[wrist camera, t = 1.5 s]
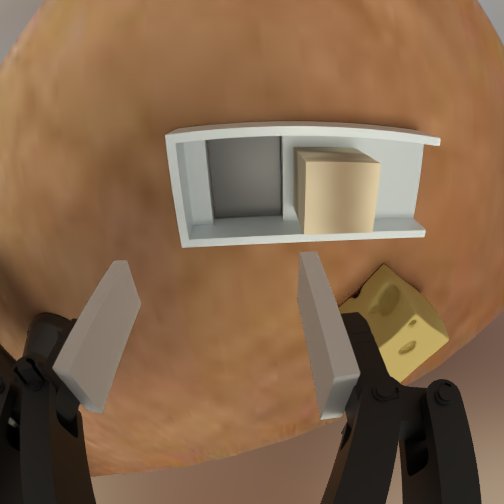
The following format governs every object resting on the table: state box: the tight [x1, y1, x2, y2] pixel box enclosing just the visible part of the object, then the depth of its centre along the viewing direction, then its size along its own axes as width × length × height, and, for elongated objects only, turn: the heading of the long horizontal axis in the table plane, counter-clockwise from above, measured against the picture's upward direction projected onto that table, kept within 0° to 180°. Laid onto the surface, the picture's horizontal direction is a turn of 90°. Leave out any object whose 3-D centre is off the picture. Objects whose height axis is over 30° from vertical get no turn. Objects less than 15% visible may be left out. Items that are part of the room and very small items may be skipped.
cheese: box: [338, 264, 449, 383], centre depth 33 cm, size 10×11×10 cm
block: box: [293, 147, 381, 235], centre depth 24 cm, size 6×6×6 cm
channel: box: [165, 121, 441, 248], centre depth 26 cm, size 25×11×4 cm, turn 93°
